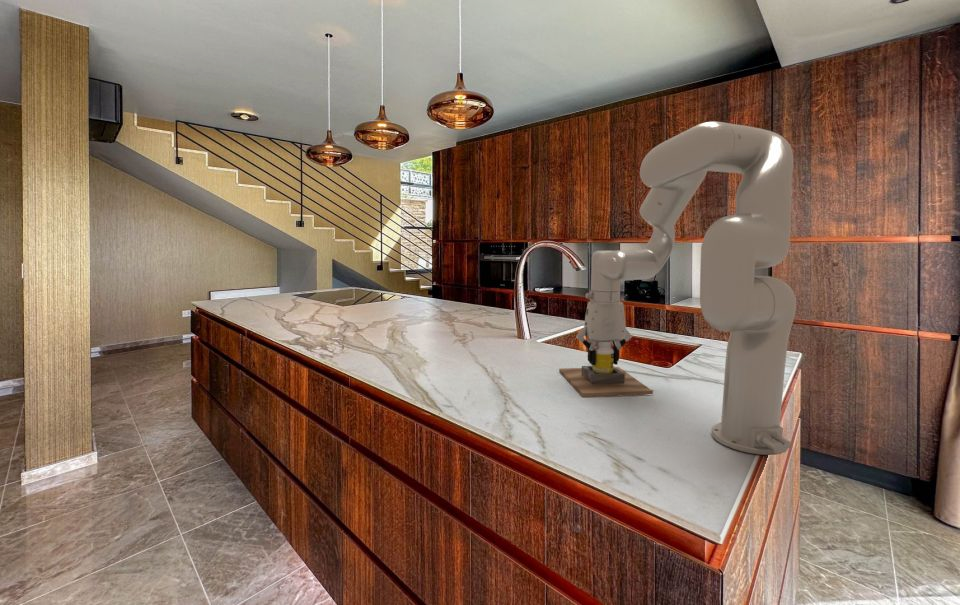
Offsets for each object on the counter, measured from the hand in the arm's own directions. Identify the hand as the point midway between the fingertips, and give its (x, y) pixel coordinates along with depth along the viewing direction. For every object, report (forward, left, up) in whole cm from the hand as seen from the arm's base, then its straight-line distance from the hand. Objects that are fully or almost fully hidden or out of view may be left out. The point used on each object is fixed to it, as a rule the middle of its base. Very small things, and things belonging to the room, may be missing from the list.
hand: (603, 362), depth 122 cm
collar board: (0, 0, -5) cm, 5 cm away
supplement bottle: (0, 0, -4) cm, 4 cm away
